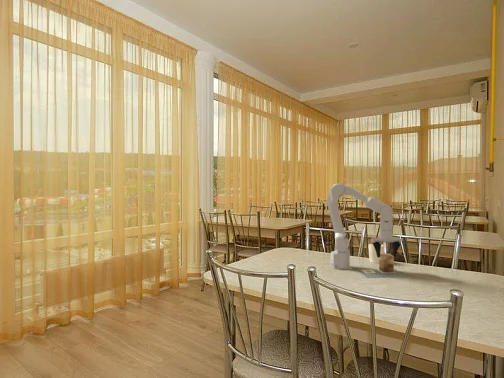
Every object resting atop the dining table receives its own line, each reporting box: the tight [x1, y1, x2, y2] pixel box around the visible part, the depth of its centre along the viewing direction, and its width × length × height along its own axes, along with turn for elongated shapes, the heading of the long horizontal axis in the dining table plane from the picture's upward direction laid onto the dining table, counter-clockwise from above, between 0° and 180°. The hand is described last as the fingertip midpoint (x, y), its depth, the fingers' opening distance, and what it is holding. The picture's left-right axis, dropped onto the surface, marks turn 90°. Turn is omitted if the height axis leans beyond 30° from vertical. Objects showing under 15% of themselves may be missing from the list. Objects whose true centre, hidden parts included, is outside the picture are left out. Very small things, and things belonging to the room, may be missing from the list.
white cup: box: [368, 243, 385, 264], centre depth 180 cm, size 8×8×10 cm
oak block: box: [379, 253, 395, 264], centre depth 161 cm, size 5×5×4 cm
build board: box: [356, 268, 411, 279], centre depth 157 cm, size 20×15×1 cm
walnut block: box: [378, 262, 395, 272], centre depth 161 cm, size 5×5×4 cm
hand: (386, 257), depth 161 cm, fingers open, 7 cm apart
